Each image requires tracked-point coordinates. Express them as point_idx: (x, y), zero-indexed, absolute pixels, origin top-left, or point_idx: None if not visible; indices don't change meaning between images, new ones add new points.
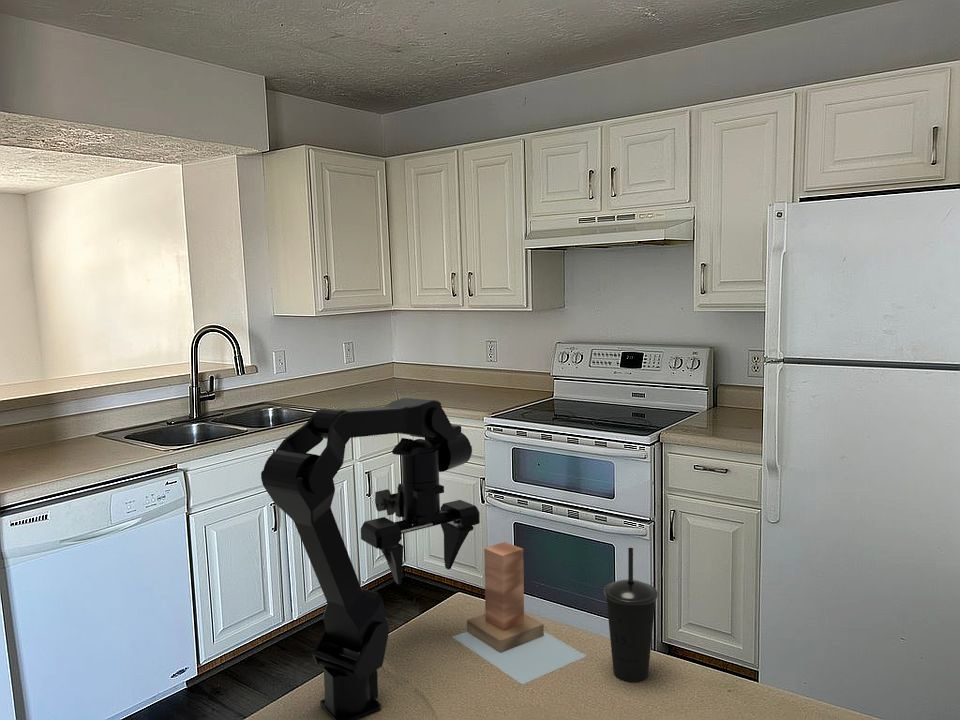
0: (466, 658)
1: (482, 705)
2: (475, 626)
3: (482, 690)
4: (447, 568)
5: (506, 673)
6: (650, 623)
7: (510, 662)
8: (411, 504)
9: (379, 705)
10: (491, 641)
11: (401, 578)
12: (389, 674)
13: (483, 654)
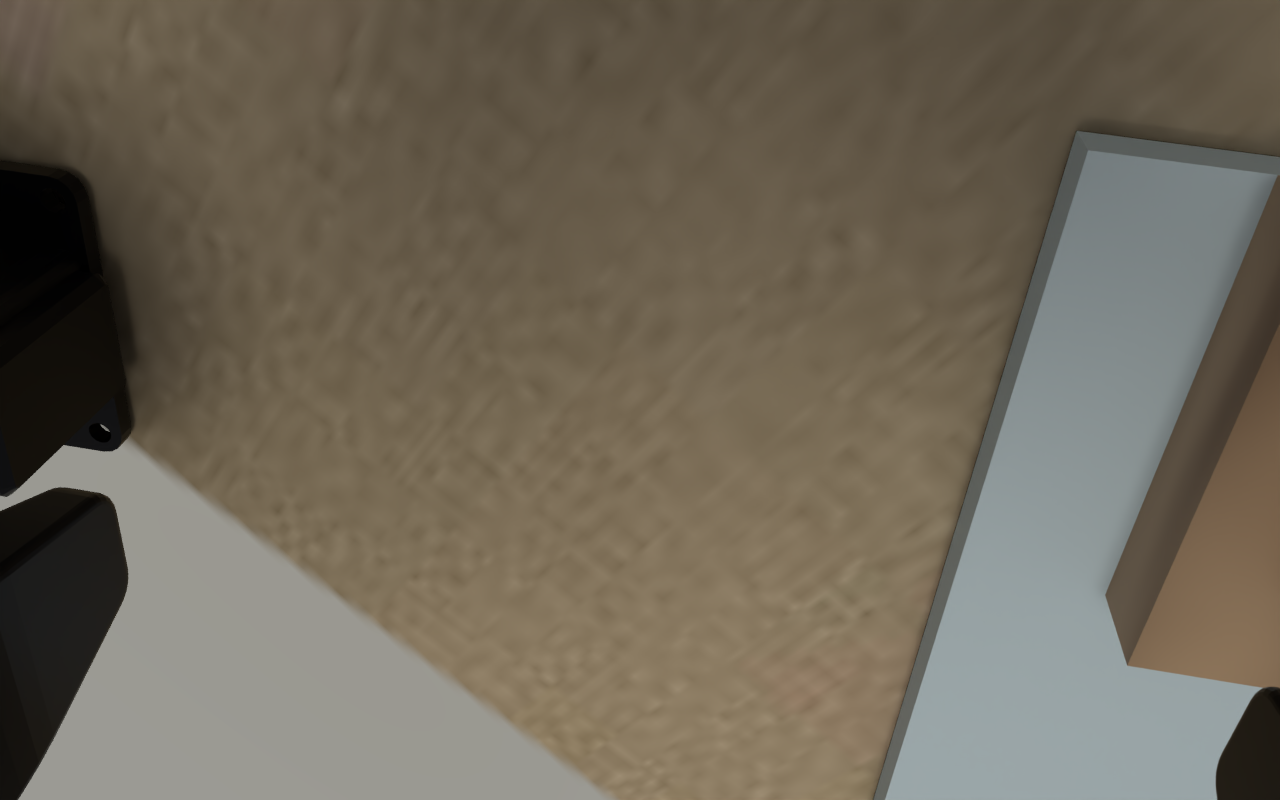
0: (941, 393)
1: (615, 751)
2: (1258, 357)
3: (715, 682)
4: (1227, 754)
5: (902, 748)
6: None
7: (1033, 703)
8: None
9: (110, 442)
10: (1155, 537)
11: (68, 703)
12: (348, 150)
13: (1005, 528)
